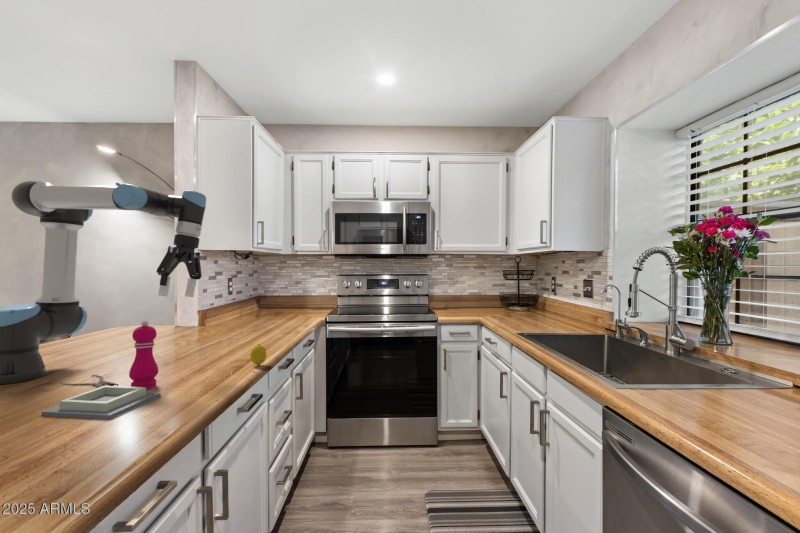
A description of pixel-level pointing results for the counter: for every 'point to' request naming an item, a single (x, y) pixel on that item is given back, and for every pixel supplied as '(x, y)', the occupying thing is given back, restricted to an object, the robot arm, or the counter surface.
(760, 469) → the counter surface
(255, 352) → the lemon
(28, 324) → the robot arm
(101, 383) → the pliers
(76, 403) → the pocket board
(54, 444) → the counter surface
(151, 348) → the pepper mill
